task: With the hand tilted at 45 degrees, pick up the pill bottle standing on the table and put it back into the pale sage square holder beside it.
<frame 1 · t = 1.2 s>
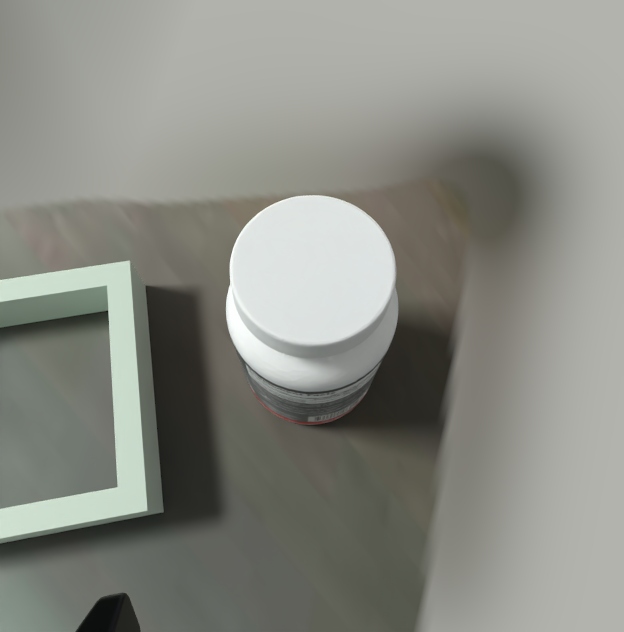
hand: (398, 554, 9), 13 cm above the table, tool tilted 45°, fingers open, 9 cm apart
bottle holder: (33, 410, 23), on the table
pill bottle: (309, 364, 25), on the table
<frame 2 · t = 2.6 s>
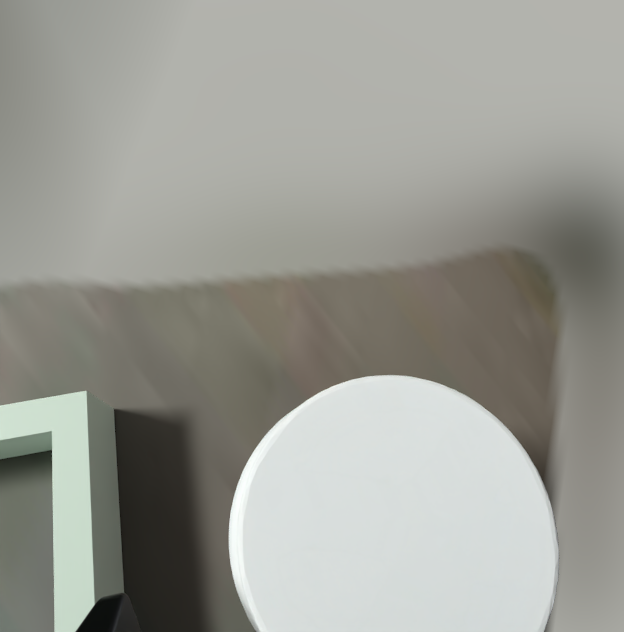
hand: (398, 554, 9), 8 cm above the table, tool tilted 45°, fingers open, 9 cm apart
pill bottle: (346, 528, 17), on the table
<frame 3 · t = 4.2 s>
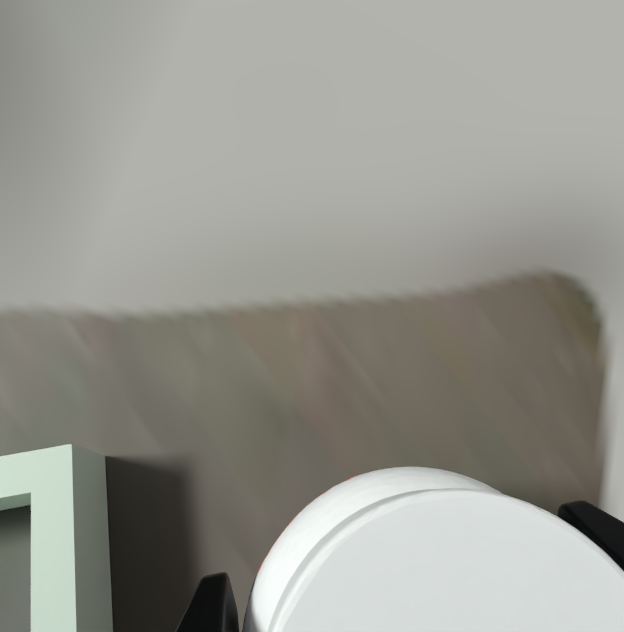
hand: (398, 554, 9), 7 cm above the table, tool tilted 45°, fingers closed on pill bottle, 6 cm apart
pill bottle: (369, 597, 15), on the table, touching gripper
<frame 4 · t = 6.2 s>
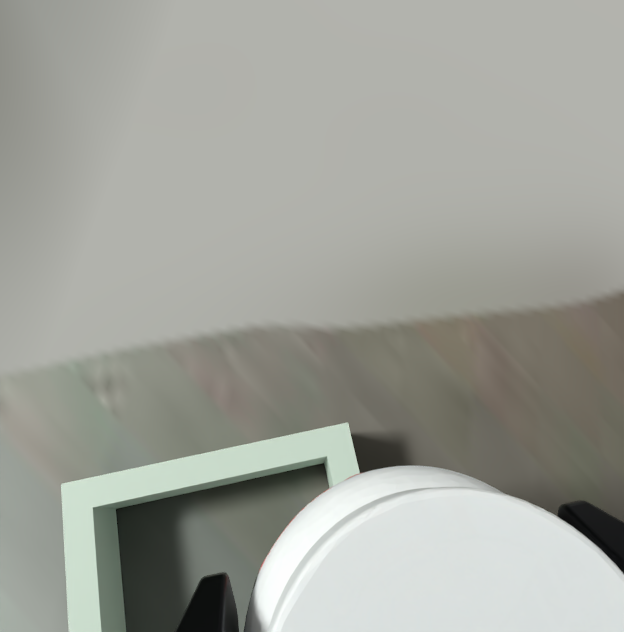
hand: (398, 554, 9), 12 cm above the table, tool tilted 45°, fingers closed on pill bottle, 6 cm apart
bottle holder: (239, 600, 20), on the table
pill bottle: (371, 595, 15), point 5 cm above the table, touching gripper
when the fingers open (7 cm above the table, at t = 8.6 s): pill bottle stays where it is, resting in bottle holder.
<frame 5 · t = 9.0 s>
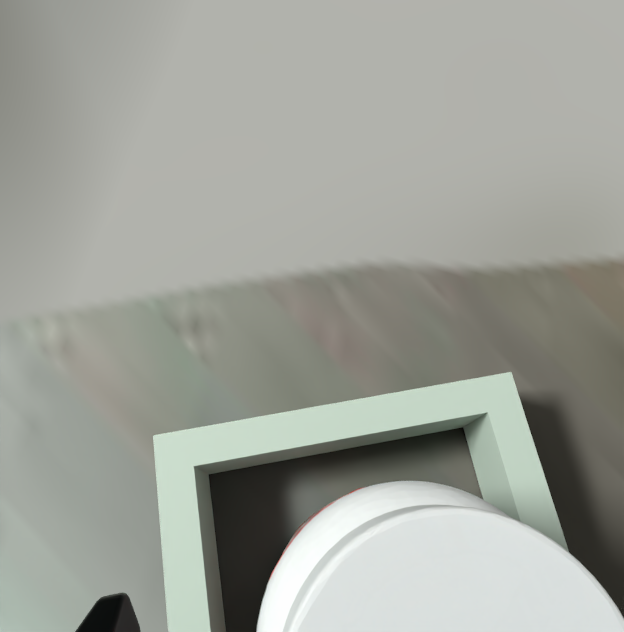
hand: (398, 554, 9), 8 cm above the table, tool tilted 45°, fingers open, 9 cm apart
bottle holder: (366, 592, 16), on the table
pill bottle: (370, 598, 16), resting in bottle holder
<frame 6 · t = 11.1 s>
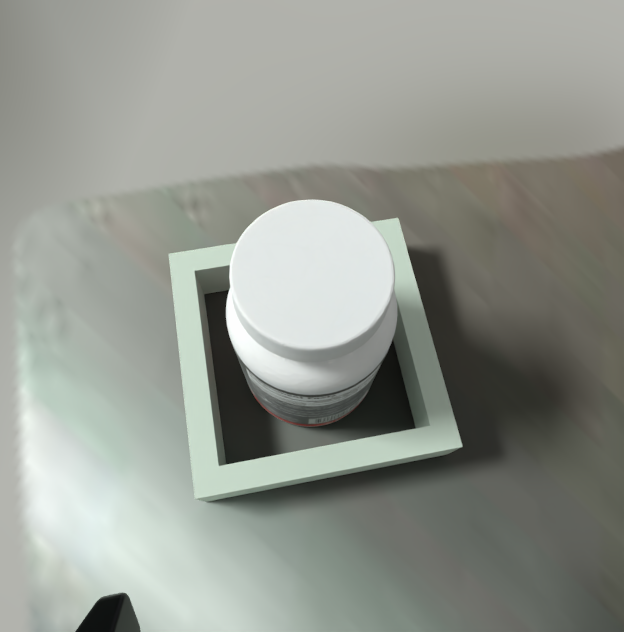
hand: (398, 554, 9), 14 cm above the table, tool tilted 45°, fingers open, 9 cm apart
bottle holder: (306, 361, 24), on the table
pill bottle: (309, 366, 25), resting in bottle holder
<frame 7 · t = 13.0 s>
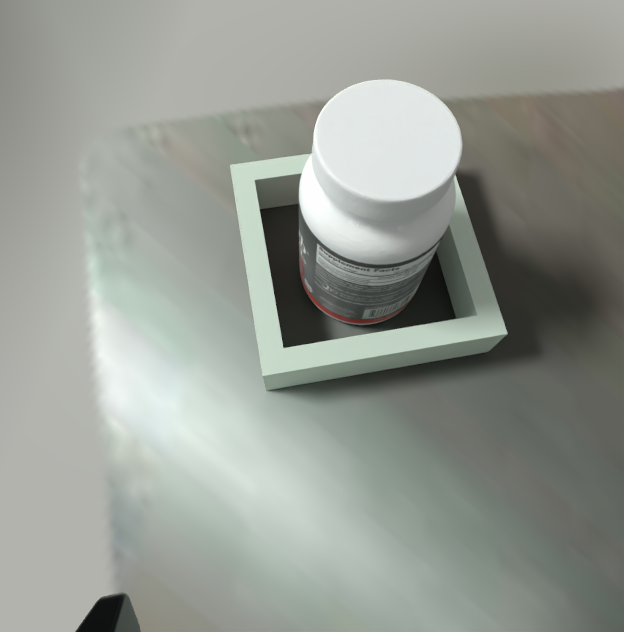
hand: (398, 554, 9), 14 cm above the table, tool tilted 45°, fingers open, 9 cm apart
bottle holder: (355, 269, 26), on the table
pill bottle: (358, 274, 26), resting in bottle holder
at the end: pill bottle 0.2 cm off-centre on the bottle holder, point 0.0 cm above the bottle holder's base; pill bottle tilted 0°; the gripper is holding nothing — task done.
